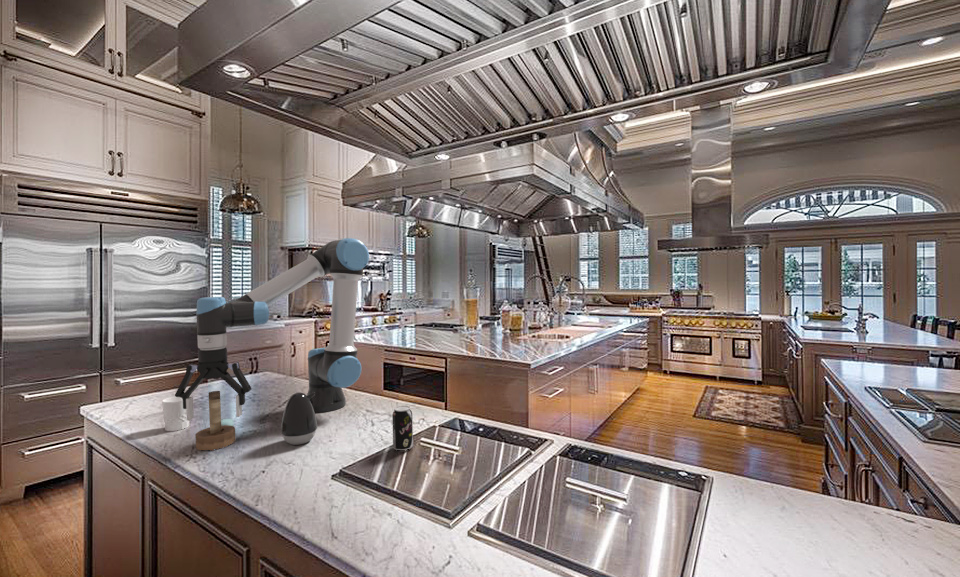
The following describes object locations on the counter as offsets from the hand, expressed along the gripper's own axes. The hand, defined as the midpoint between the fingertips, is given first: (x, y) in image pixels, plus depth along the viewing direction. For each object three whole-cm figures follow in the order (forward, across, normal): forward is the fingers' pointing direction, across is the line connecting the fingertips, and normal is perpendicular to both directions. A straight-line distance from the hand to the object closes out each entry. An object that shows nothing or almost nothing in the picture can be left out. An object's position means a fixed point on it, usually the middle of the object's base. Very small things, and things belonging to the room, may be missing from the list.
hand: (215, 417), depth 130 cm
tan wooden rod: (+8, 0, 0) cm, 8 cm away
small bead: (+8, -2, +11) cm, 14 cm away
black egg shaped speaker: (+8, +25, -4) cm, 27 cm away
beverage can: (+8, +56, -17) cm, 59 cm away
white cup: (+8, -19, +19) cm, 28 cm away
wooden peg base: (+8, 0, 0) cm, 8 cm away
